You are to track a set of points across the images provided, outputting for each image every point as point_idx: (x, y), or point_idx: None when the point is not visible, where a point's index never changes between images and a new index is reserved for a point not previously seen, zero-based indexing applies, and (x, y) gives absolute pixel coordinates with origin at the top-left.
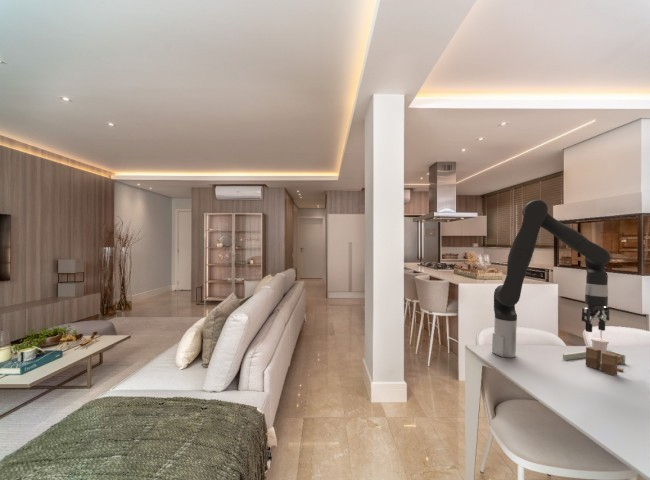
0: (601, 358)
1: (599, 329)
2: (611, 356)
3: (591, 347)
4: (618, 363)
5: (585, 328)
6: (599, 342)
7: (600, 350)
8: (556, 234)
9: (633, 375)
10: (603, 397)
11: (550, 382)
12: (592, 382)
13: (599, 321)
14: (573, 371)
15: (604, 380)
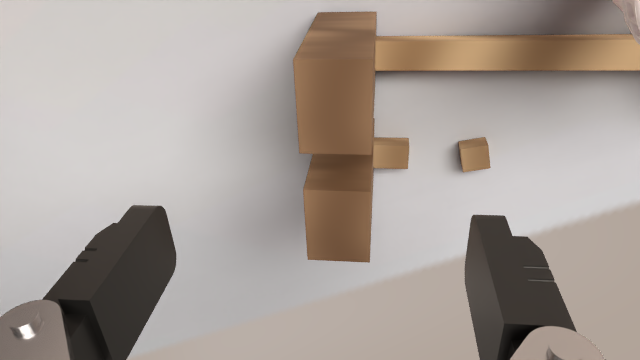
0: None
1: (474, 225)
2: (308, 246)
3: (348, 81)
4: None
5: (90, 241)
6: (630, 21)
7: (362, 151)
8: None
9: (471, 210)
10: (18, 288)
11: None
12: (99, 196)
13: (507, 336)
14: (115, 64)
15: (196, 200)
